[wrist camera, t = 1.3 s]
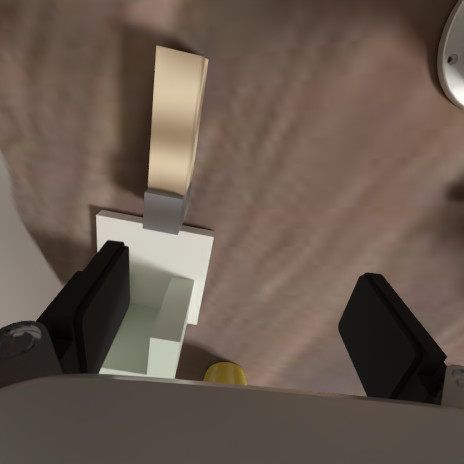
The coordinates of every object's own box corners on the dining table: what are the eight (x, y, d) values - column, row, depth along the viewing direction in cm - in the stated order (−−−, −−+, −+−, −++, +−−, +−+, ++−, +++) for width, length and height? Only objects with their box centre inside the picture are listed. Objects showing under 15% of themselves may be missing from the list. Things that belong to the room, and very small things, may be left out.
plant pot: (234, 344, 45) (232, 407, 37) (266, 380, 49) (272, 443, 41) (183, 366, 48) (170, 429, 40) (217, 398, 52) (213, 461, 44)
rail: (170, 50, 27) (152, 44, 21) (208, 59, 27) (200, 55, 22) (157, 205, 34) (142, 228, 29) (187, 211, 34) (177, 235, 29)
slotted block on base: (101, 209, 35) (43, 263, 24) (214, 231, 36) (204, 292, 25) (103, 301, 42) (59, 372, 32) (197, 317, 43) (184, 391, 32)
